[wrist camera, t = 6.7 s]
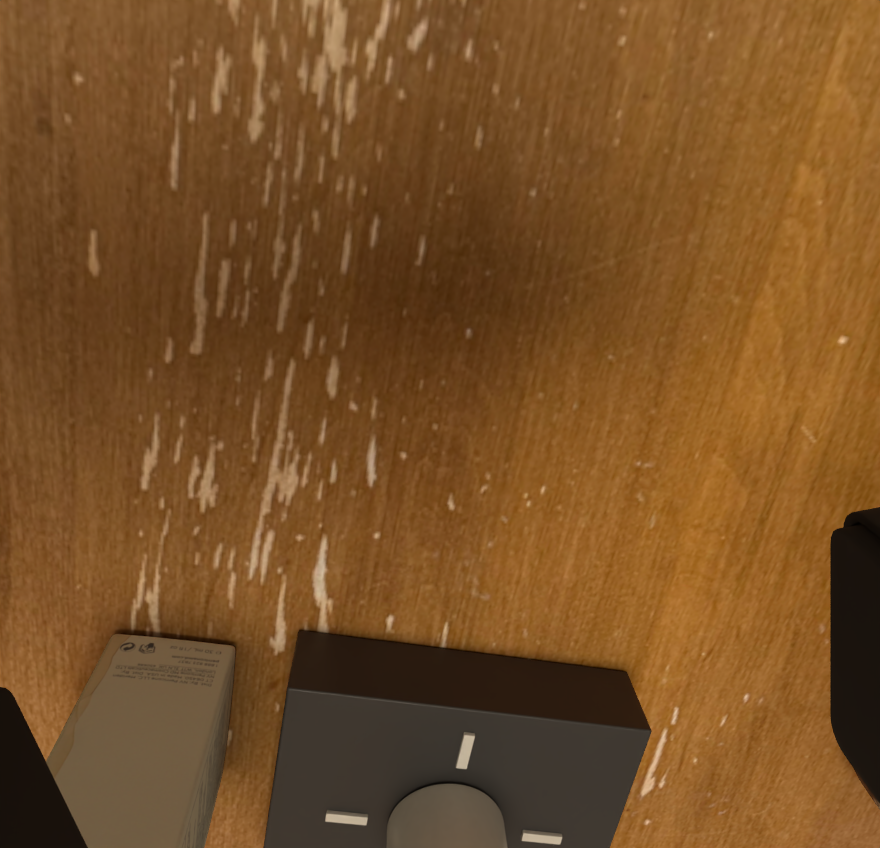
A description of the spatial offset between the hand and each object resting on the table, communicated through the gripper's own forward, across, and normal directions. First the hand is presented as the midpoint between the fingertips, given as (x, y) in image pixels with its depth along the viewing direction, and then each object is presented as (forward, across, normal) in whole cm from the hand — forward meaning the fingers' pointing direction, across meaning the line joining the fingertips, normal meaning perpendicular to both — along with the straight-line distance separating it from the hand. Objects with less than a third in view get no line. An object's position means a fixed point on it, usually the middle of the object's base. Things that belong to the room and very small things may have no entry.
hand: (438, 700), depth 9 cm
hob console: (+16, +2, +16) cm, 23 cm away
